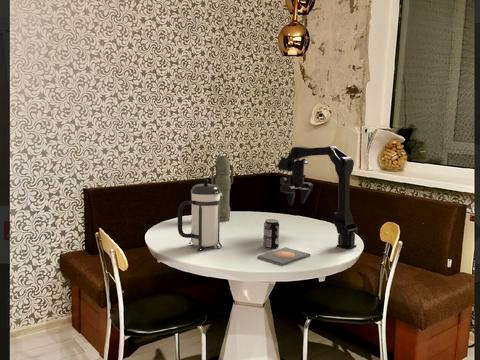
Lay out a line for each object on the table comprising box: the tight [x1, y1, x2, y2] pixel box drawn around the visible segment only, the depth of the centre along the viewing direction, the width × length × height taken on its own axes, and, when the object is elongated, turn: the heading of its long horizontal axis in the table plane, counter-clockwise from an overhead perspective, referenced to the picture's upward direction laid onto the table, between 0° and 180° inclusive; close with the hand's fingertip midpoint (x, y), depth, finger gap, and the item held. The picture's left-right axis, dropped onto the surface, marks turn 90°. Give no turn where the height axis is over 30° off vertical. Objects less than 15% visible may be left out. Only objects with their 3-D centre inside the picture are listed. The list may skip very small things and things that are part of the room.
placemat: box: [257, 247, 311, 267], centre depth 187 cm, size 13×18×1 cm
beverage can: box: [263, 218, 280, 250], centre depth 201 cm, size 7×7×12 cm
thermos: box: [211, 155, 234, 222], centre depth 249 cm, size 9×12×35 cm
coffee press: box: [177, 178, 223, 251], centre depth 197 cm, size 17×16×30 cm
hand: (296, 204), depth 222 cm, fingers open, 9 cm apart
